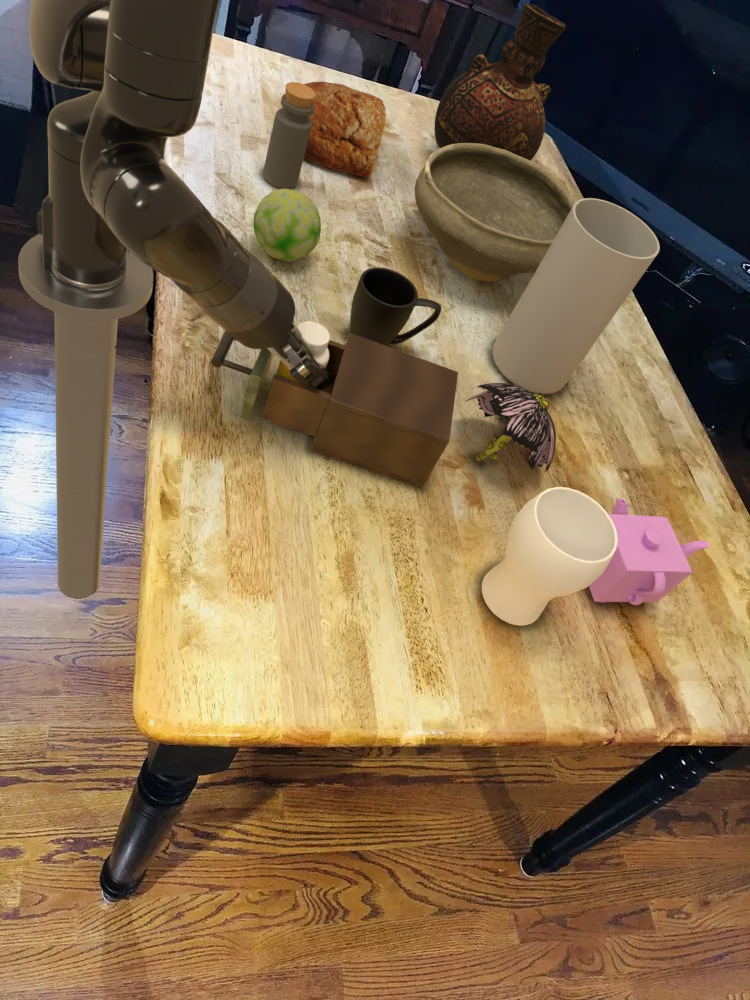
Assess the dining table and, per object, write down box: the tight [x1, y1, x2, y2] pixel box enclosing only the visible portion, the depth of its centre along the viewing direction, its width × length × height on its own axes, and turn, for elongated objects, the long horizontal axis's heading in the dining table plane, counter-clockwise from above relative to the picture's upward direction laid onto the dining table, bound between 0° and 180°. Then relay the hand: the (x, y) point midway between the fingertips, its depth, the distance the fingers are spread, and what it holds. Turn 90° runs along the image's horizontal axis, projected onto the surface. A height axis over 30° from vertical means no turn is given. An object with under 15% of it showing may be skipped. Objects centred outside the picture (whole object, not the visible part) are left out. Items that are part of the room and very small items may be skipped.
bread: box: [281, 81, 387, 178], centre depth 135 cm, size 20×18×10 cm
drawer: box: [210, 330, 345, 437], centre depth 92 cm, size 19×11×7 cm, turn 81°
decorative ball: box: [253, 188, 322, 262], centre depth 111 cm, size 10×10×10 cm
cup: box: [481, 486, 618, 626], centre depth 83 cm, size 11×11×15 cm
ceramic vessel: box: [434, 2, 566, 161], centre depth 138 cm, size 21×18×30 cm
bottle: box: [262, 81, 316, 190], centre depth 121 cm, size 6×6×15 cm
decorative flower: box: [465, 382, 557, 473], centre depth 100 cm, size 14×12×15 cm
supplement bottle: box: [275, 320, 331, 389], centre depth 90 cm, size 5×5×10 cm
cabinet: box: [310, 332, 459, 489], centre depth 94 cm, size 15×13×9 cm
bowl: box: [414, 143, 575, 282], centre depth 125 cm, size 28×28×14 cm
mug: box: [349, 266, 442, 347], centre depth 105 cm, size 8×12×10 cm
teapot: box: [588, 497, 711, 606], centre depth 92 cm, size 18×13×10 cm
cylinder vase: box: [492, 197, 661, 395], centre depth 107 cm, size 12×12×25 cm
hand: (314, 365), depth 92 cm, fingers closed on supplement bottle, 5 cm apart
